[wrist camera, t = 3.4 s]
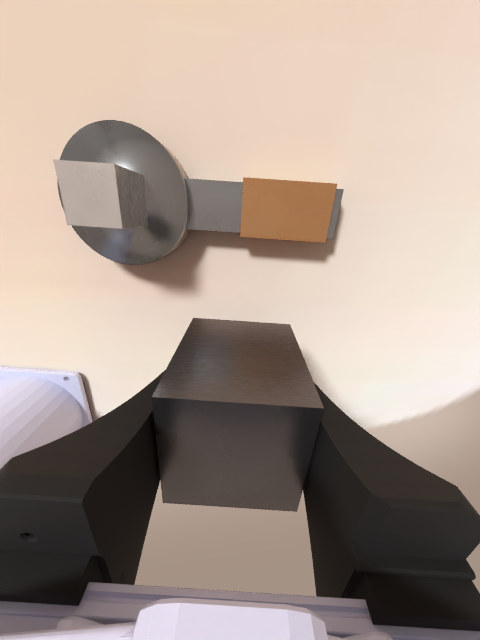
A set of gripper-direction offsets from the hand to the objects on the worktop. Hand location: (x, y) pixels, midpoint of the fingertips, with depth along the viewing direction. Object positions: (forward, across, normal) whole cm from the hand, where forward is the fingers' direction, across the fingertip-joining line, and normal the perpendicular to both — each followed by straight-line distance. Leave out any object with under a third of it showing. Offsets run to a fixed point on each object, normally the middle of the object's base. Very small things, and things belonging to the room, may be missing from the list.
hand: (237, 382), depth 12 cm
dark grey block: (+2, 0, 0) cm, 2 cm away
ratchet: (+6, +3, -8) cm, 11 cm away
